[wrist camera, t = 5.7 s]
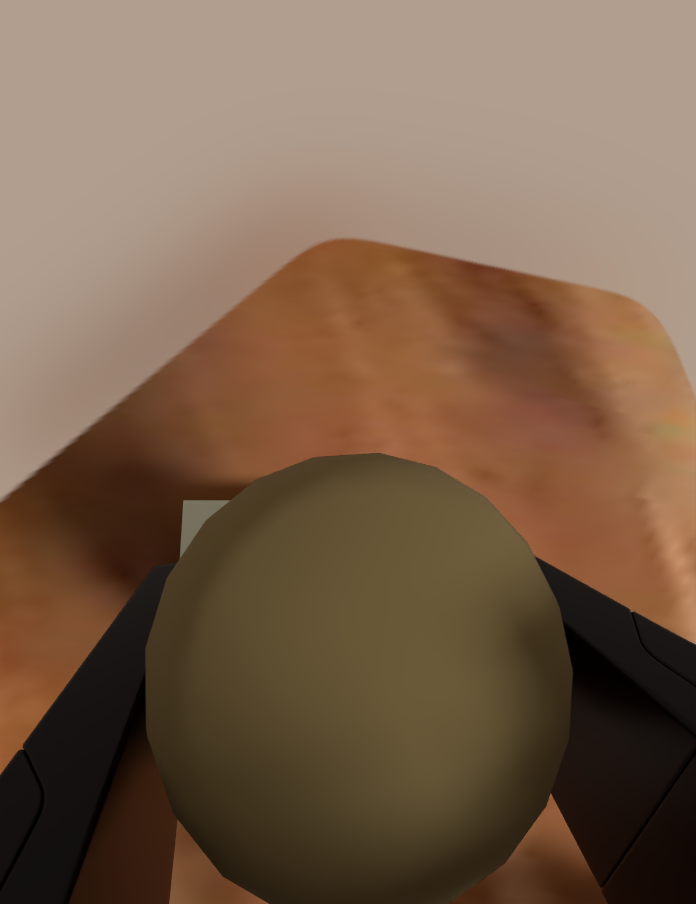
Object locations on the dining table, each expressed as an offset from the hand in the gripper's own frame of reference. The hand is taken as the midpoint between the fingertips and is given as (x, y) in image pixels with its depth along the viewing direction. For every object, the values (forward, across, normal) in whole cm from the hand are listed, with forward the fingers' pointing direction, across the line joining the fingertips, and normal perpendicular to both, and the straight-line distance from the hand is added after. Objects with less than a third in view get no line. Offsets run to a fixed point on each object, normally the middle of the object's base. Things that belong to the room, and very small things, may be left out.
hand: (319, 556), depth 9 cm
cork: (+4, 0, +6) cm, 7 cm away
